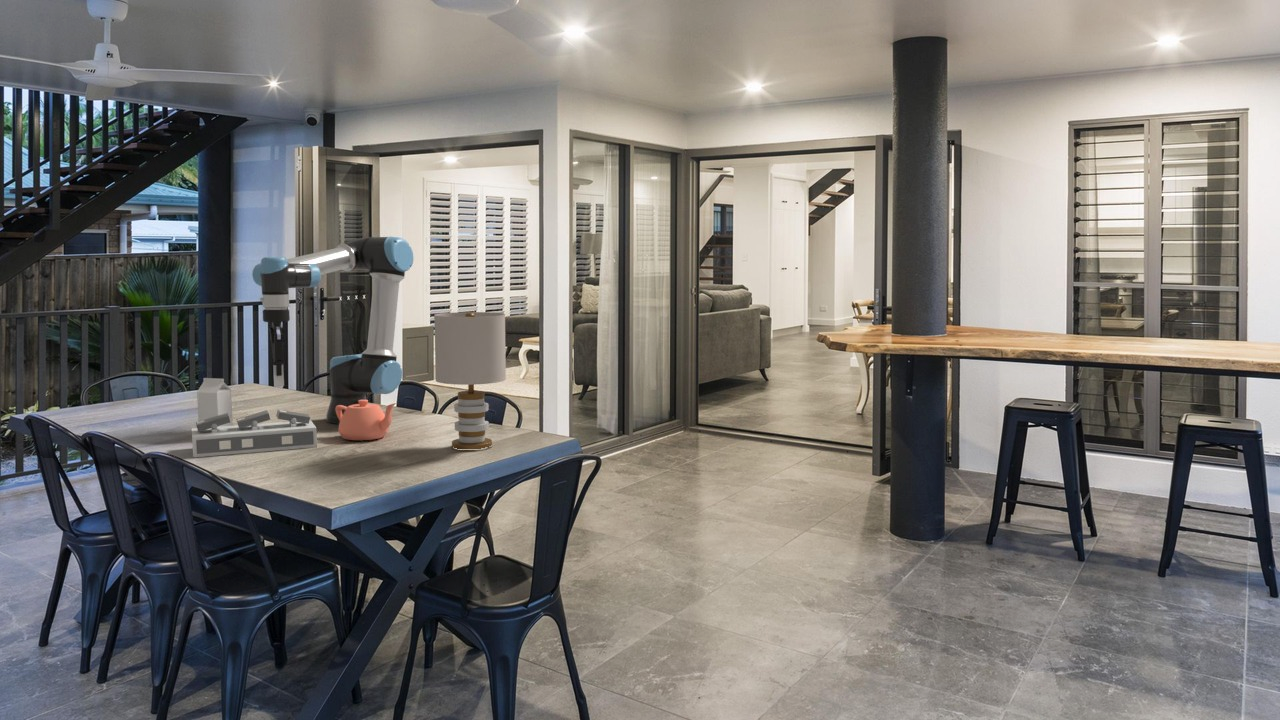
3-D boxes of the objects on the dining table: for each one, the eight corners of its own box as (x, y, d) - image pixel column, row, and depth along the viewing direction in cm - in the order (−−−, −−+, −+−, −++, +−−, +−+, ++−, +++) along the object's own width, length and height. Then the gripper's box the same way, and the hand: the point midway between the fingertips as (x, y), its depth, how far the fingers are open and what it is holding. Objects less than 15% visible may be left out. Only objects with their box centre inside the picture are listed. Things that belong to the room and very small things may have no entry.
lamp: (431, 443, 289) (428, 311, 284) (497, 438, 297) (495, 310, 292) (444, 456, 269) (441, 316, 265) (514, 451, 278) (513, 314, 273)
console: (311, 438, 294) (310, 416, 294) (317, 447, 281) (316, 424, 281) (192, 448, 280) (191, 425, 279) (193, 457, 267) (192, 434, 266)
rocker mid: (269, 417, 285) (266, 409, 284) (271, 421, 279) (268, 412, 278) (238, 426, 281) (235, 418, 280) (239, 430, 275) (237, 422, 275)
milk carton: (219, 440, 292) (216, 380, 290) (199, 439, 293) (196, 379, 291) (233, 435, 299) (230, 377, 296) (213, 434, 300) (210, 376, 298)
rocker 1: (230, 420, 280) (227, 412, 279) (231, 424, 274) (228, 415, 274) (198, 429, 276) (195, 421, 276) (198, 433, 271) (196, 425, 270)
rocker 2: (305, 422, 290) (307, 413, 290) (308, 425, 284) (310, 417, 284) (275, 417, 285) (277, 408, 285) (277, 420, 280) (279, 412, 280)
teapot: (409, 435, 300) (408, 398, 299) (383, 444, 286) (382, 405, 284) (350, 431, 306) (349, 394, 305) (322, 440, 292) (320, 401, 291)
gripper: (260, 307, 283) (264, 384, 286) (264, 310, 272) (267, 389, 274) (286, 307, 287) (289, 382, 289) (291, 309, 275) (294, 388, 278)
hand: (279, 386), depth 282 cm, fingers closed
